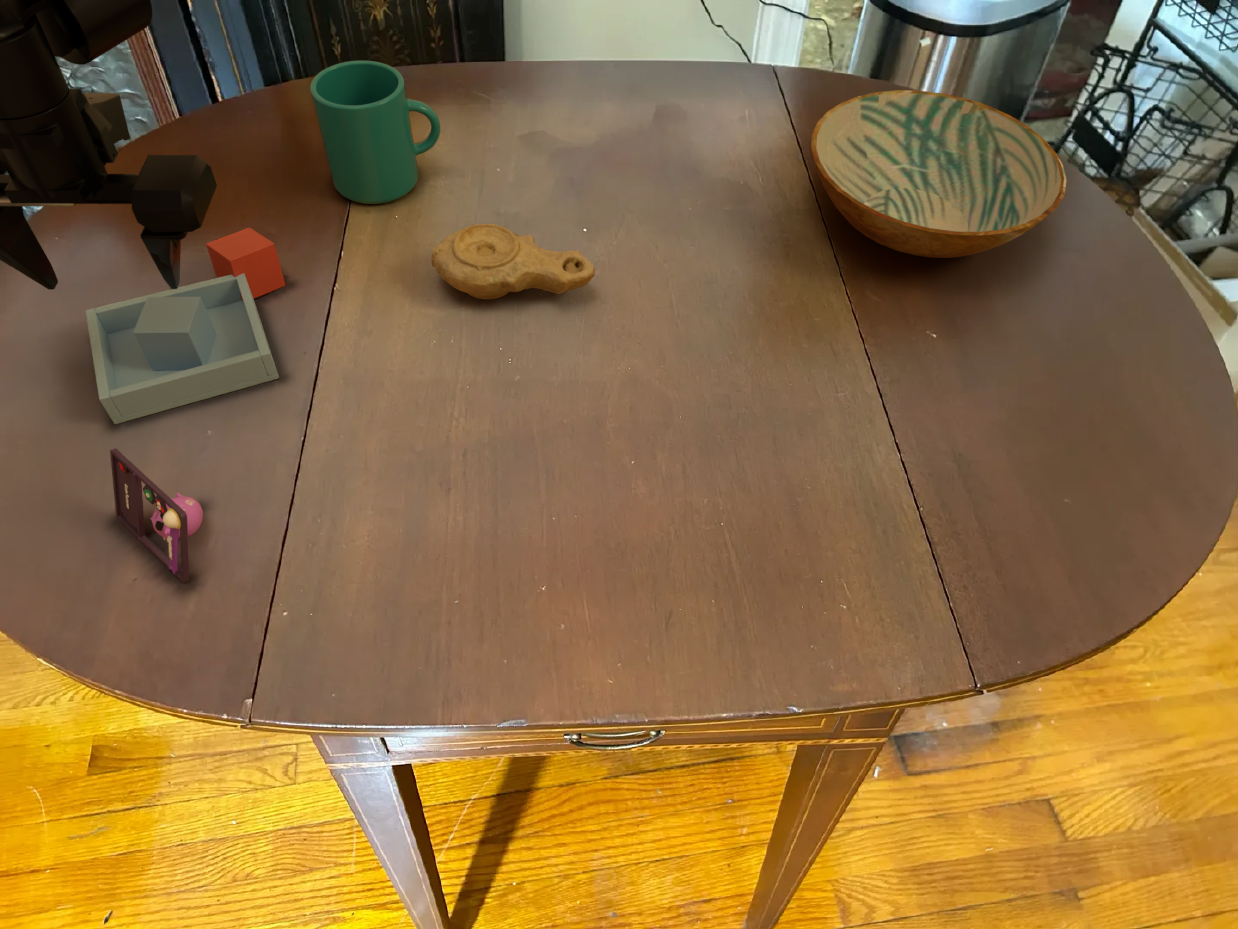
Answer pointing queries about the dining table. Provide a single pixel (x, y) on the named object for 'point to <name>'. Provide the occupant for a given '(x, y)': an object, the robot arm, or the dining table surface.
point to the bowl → (935, 172)
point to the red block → (248, 260)
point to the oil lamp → (506, 263)
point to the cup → (369, 130)
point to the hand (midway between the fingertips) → (115, 285)
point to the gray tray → (143, 391)
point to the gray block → (175, 333)
